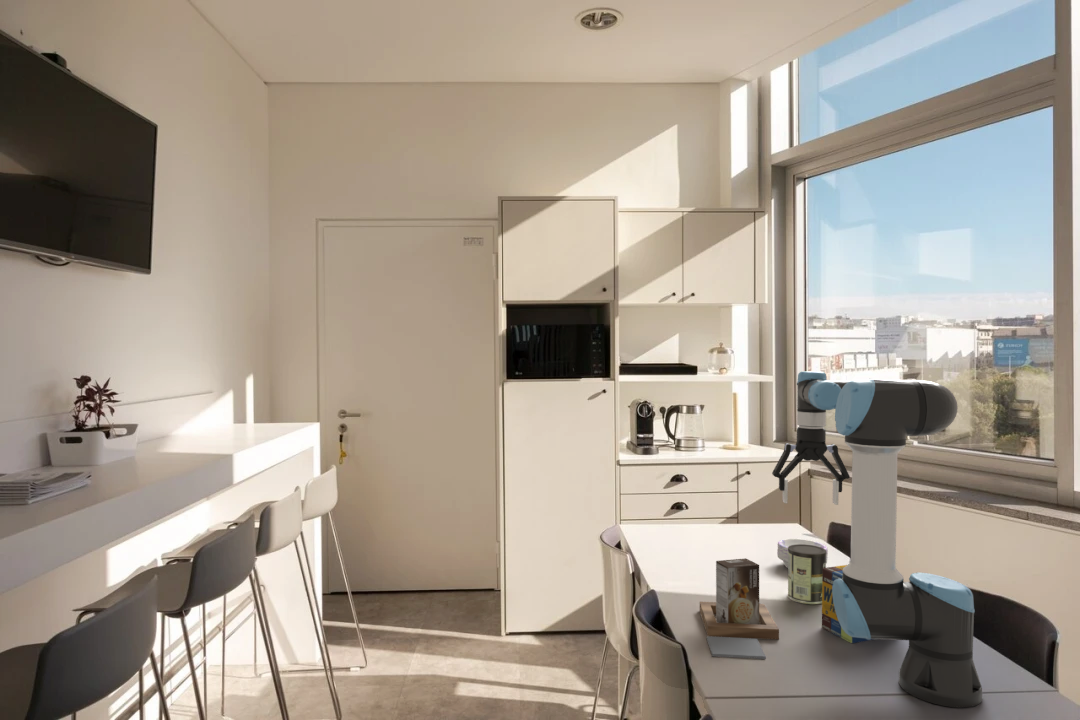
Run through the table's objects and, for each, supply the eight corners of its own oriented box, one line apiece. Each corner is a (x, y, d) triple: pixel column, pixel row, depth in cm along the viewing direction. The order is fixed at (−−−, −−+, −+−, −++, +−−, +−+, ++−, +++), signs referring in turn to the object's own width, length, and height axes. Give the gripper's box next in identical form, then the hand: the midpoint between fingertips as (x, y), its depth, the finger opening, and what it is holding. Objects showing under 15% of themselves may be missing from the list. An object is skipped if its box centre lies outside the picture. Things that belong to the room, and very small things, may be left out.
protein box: (820, 628, 181) (821, 567, 181) (867, 620, 187) (868, 561, 187) (851, 644, 172) (852, 580, 171) (900, 635, 177) (901, 573, 177)
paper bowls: (838, 572, 226) (838, 547, 226) (800, 578, 220) (800, 552, 220) (803, 559, 240) (804, 535, 240) (767, 564, 234) (767, 540, 234)
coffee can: (822, 593, 207) (822, 545, 207) (829, 606, 197) (829, 555, 197) (784, 590, 209) (785, 542, 209) (789, 603, 199) (790, 552, 199)
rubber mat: (765, 659, 163) (765, 656, 163) (712, 656, 164) (712, 653, 164) (757, 641, 173) (757, 638, 173) (706, 638, 174) (706, 636, 174)
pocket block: (778, 639, 174) (779, 629, 174) (707, 636, 176) (708, 626, 176) (764, 613, 191) (764, 604, 191) (699, 610, 193) (699, 601, 193)
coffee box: (746, 618, 188) (747, 557, 187) (760, 627, 181) (760, 564, 181) (714, 621, 185) (715, 560, 185) (727, 631, 179) (728, 567, 179)
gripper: (853, 426, 201) (852, 501, 201) (762, 424, 203) (761, 498, 203) (862, 429, 193) (861, 507, 193) (767, 427, 196) (766, 504, 196)
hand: (810, 503), depth 198 cm, fingers open, 13 cm apart
